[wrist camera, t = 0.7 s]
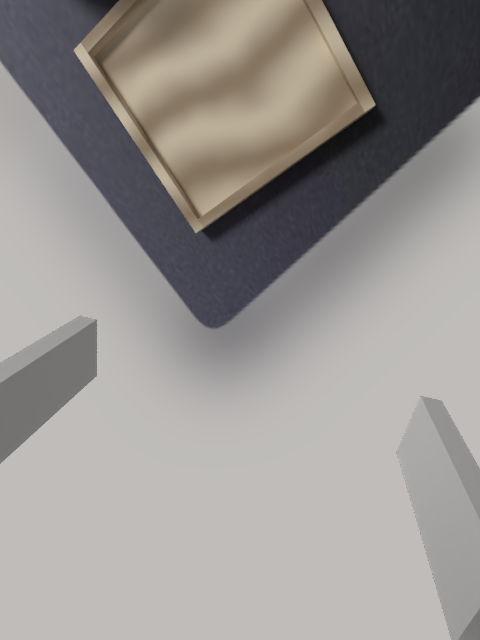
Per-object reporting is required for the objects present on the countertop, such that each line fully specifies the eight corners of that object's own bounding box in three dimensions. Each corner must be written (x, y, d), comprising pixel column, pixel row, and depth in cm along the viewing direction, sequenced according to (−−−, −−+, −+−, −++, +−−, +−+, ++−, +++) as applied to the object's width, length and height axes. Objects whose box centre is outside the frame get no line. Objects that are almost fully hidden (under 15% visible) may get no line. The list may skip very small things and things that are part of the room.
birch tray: (85, 57, 36) (73, 50, 34) (252, -122, 29) (248, -142, 27) (201, 230, 40) (195, 233, 38) (372, 109, 33) (375, 104, 31)
